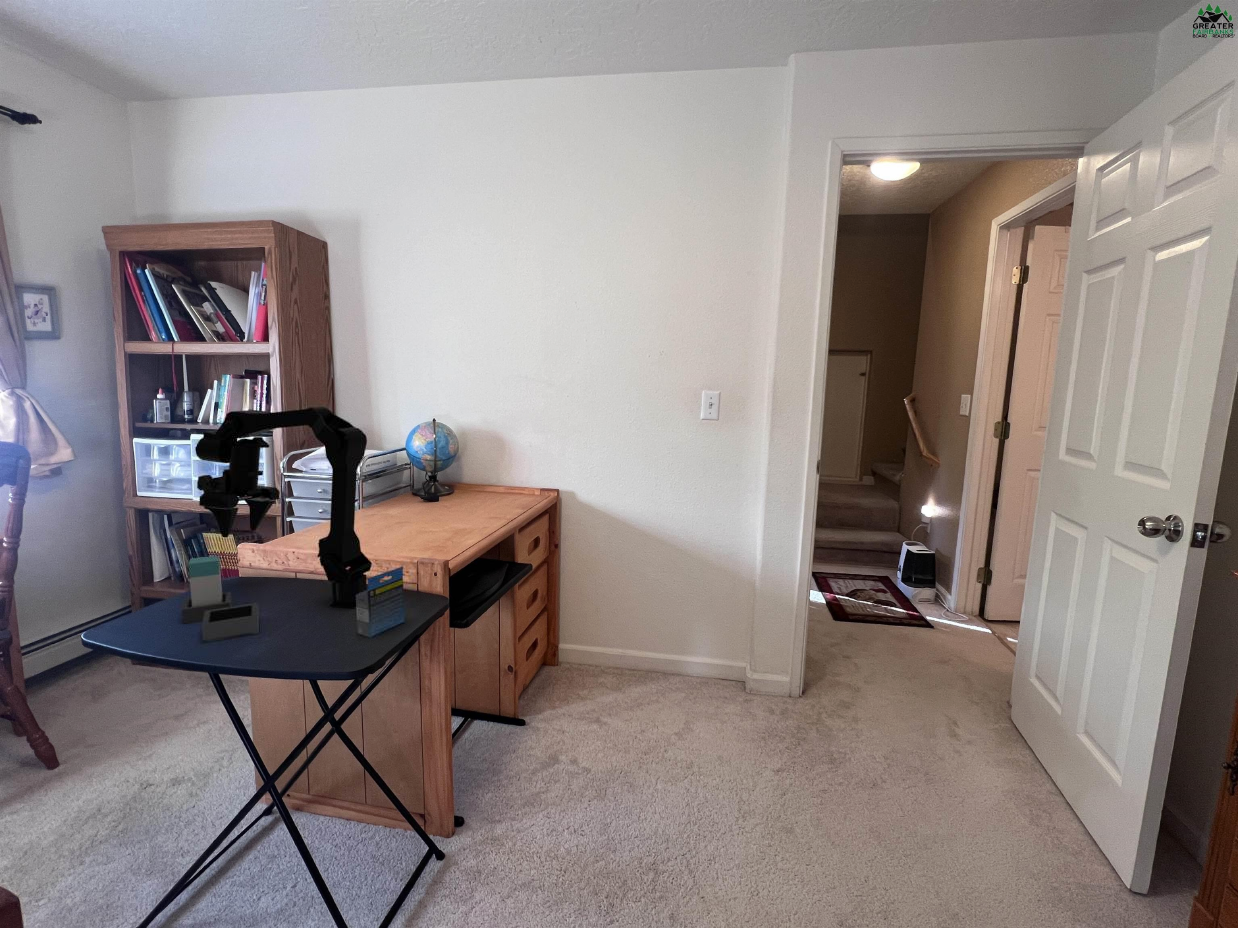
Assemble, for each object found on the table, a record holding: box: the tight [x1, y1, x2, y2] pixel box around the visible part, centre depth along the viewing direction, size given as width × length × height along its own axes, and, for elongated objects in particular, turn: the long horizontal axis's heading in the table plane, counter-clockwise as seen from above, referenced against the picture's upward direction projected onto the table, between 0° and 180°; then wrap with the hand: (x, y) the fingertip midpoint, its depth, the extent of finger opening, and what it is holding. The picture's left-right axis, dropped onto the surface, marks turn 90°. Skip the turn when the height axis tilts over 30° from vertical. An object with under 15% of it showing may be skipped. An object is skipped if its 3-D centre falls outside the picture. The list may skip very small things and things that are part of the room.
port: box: [201, 602, 260, 644], centre depth 115 cm, size 9×8×4 cm
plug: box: [188, 555, 223, 607], centre depth 122 cm, size 5×4×12 cm
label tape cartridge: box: [355, 566, 406, 638], centre depth 118 cm, size 9×4×12 cm, turn 152°
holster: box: [181, 591, 233, 624], centre depth 123 cm, size 8×7×3 cm
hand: (239, 533), depth 132 cm, fingers open, 9 cm apart
